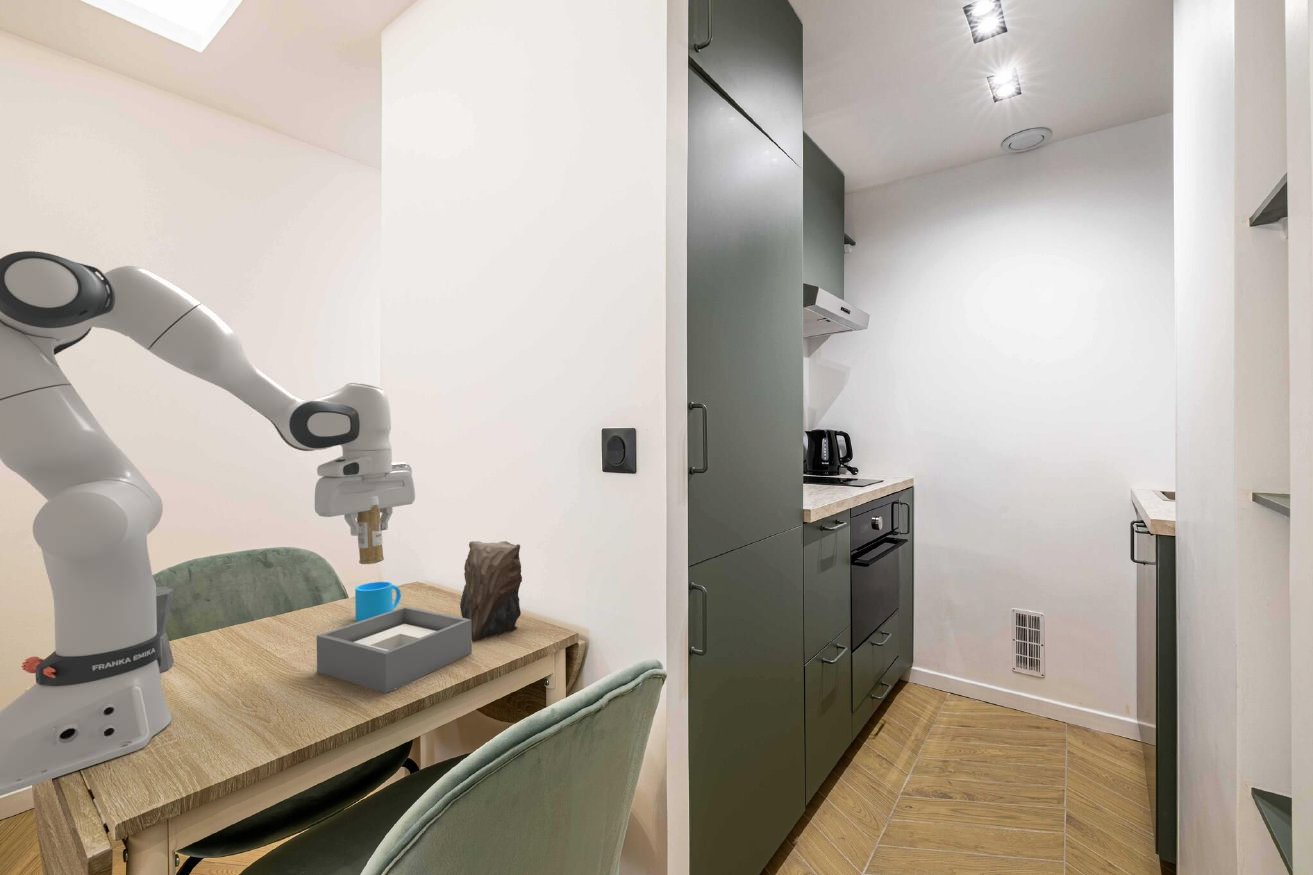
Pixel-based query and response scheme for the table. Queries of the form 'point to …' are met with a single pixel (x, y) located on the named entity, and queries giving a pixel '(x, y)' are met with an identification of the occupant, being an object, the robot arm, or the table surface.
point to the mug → (374, 599)
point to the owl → (491, 588)
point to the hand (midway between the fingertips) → (369, 532)
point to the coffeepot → (162, 619)
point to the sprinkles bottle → (370, 534)
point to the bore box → (393, 647)
